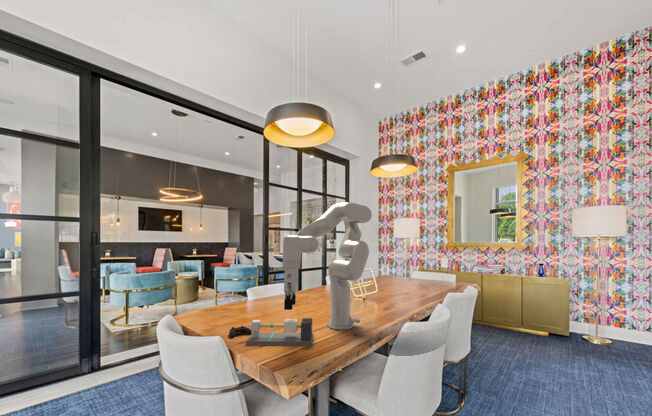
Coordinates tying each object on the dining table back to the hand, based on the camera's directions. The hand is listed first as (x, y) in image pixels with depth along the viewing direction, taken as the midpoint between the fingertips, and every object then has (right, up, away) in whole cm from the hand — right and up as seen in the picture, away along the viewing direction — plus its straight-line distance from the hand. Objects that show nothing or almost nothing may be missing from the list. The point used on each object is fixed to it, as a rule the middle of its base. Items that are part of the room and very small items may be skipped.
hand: (290, 307), depth 120 cm
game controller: (-23, -15, +7) cm, 28 cm away
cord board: (-4, -14, -1) cm, 14 cm away
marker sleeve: (0, -10, -1) cm, 10 cm away
